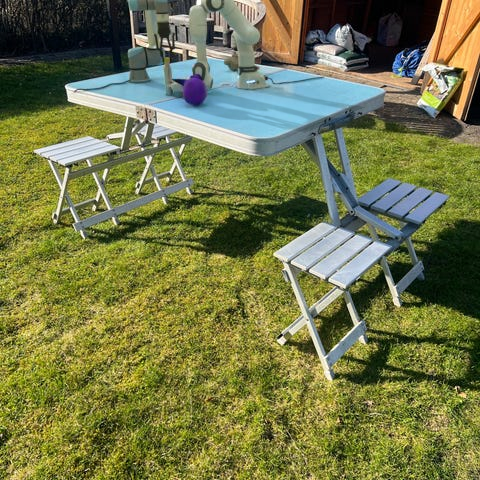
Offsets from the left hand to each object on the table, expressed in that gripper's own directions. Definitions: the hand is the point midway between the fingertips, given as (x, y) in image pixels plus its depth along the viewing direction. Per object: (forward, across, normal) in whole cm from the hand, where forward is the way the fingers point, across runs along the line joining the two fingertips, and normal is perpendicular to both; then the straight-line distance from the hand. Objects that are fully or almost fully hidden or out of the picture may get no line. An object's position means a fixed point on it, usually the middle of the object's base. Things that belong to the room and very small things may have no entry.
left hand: (166, 61), depth 288 cm
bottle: (+21, 0, 0) cm, 21 cm away
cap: (-2, 0, 0) cm, 2 cm away
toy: (+21, +8, -29) cm, 37 cm away
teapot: (+21, +67, +65) cm, 95 cm away
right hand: (+14, -1, 0) cm, 14 cm away
